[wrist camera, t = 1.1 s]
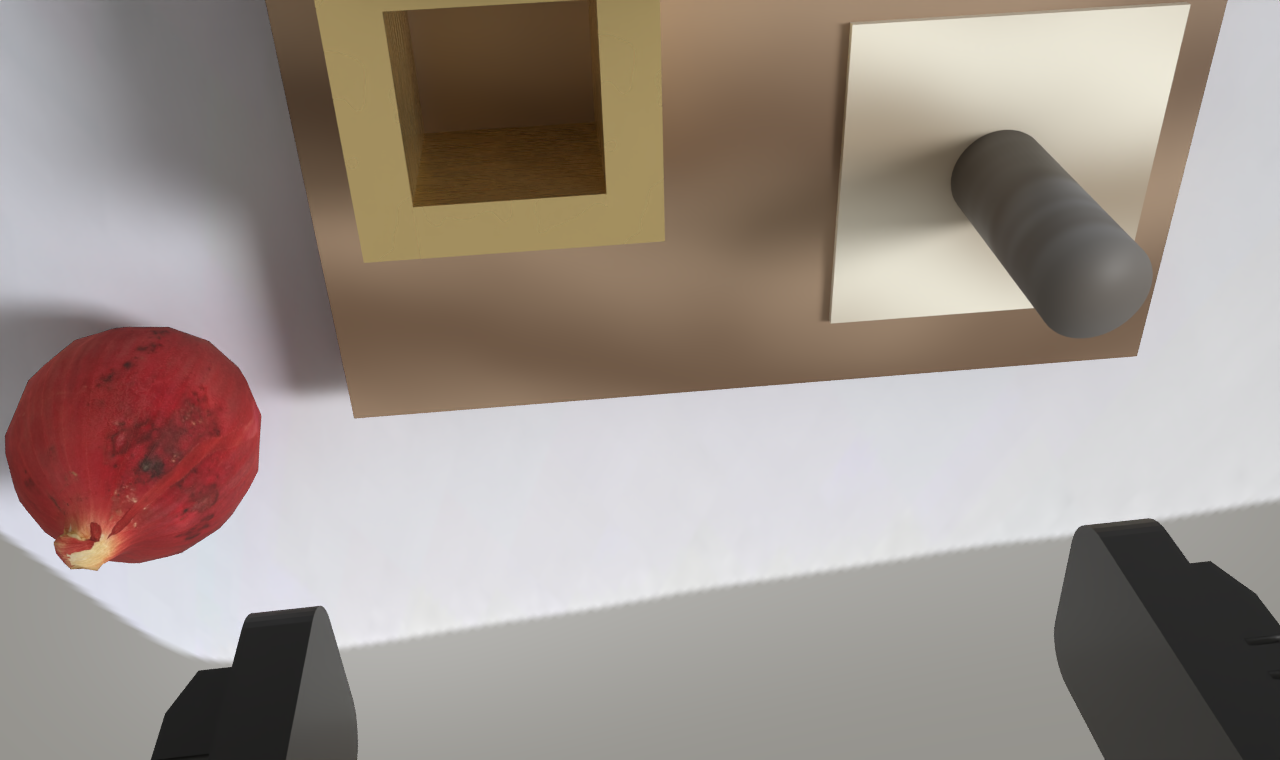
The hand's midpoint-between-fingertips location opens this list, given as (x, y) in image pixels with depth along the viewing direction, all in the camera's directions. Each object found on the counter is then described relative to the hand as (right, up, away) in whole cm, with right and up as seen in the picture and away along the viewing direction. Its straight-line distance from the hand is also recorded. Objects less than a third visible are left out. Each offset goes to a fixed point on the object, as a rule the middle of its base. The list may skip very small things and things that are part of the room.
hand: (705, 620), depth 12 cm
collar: (-4, +10, +14) cm, 17 cm away
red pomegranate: (-14, +3, +20) cm, 24 cm away
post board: (+2, +10, +17) cm, 20 cm away
